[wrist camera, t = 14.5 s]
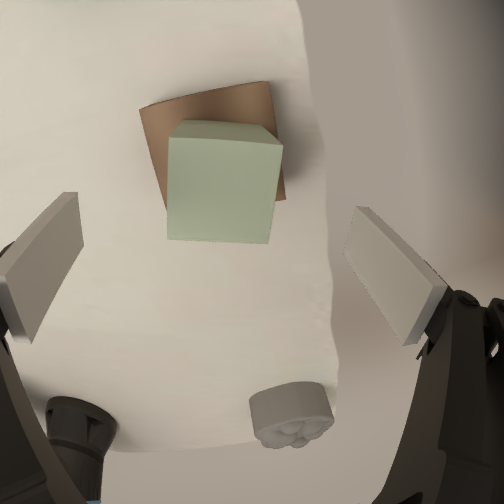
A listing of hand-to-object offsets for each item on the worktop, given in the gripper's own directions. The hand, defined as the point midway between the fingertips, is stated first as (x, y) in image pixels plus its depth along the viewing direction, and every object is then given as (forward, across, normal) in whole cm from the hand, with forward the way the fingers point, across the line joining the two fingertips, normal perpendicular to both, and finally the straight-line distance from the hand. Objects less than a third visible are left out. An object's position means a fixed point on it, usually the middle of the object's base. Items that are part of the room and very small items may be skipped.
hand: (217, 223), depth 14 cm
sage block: (+12, 0, 0) cm, 12 cm away
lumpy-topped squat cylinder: (+17, +15, -41) cm, 46 cm away
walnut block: (+16, 0, +1) cm, 17 cm away
